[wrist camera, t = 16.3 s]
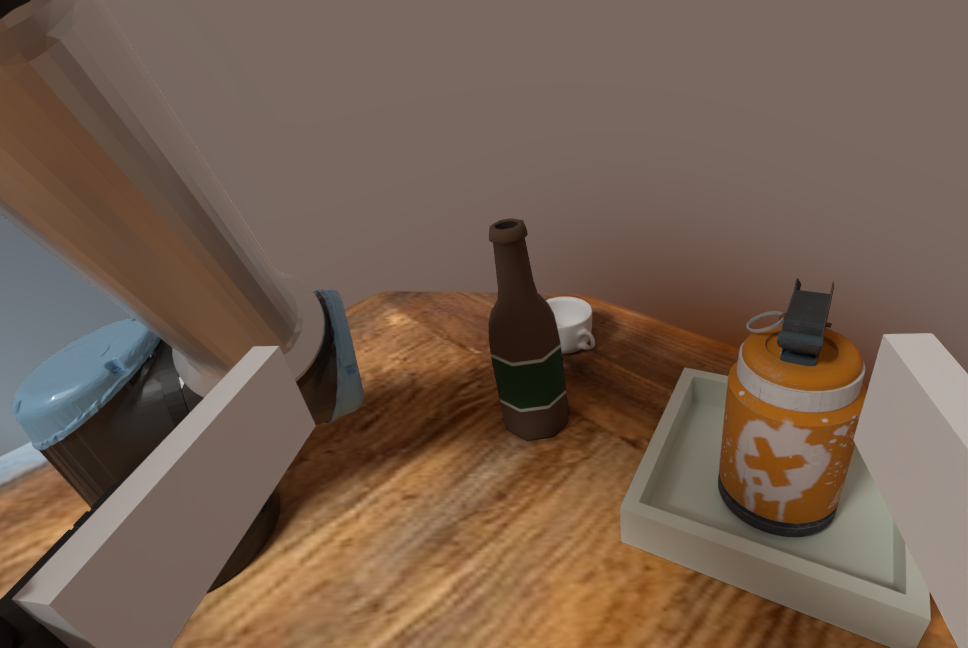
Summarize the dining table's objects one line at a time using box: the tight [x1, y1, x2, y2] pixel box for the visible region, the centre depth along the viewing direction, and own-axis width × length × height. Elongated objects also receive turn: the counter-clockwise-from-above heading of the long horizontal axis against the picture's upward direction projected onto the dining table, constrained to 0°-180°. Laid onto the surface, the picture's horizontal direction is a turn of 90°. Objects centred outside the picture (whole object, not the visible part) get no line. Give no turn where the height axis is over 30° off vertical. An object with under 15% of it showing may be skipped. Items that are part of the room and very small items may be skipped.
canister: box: [718, 278, 867, 537], centre depth 41 cm, size 9×11×20 cm
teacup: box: [546, 297, 595, 354], centre depth 69 cm, size 10×8×5 cm
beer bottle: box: [489, 219, 568, 441], centre depth 54 cm, size 8×8×24 cm
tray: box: [620, 367, 931, 648], centre depth 46 cm, size 20×20×4 cm
